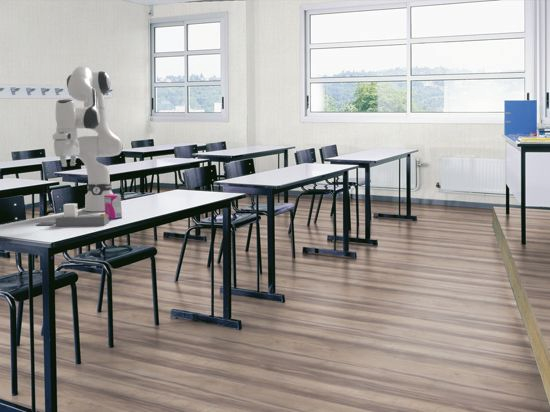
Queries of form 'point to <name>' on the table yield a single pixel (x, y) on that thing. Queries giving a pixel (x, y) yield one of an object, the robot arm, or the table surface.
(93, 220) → the grey flat block
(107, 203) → the supplement box
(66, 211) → the charger
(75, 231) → the table surface
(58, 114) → the robot arm
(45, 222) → the mat
